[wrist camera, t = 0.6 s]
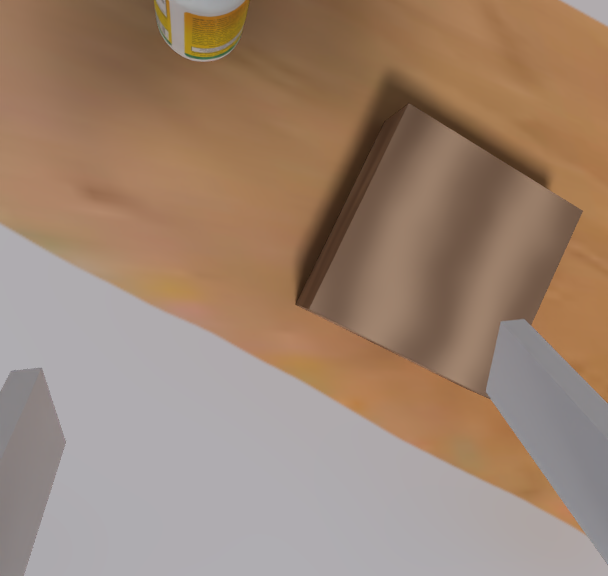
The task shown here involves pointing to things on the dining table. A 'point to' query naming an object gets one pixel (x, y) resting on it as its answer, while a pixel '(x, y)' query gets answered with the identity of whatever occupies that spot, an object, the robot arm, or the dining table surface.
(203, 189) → the dining table surface
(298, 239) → the dining table surface
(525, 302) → the walnut riser
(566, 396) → the robot arm
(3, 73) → the dining table surface
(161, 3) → the supplement bottle
